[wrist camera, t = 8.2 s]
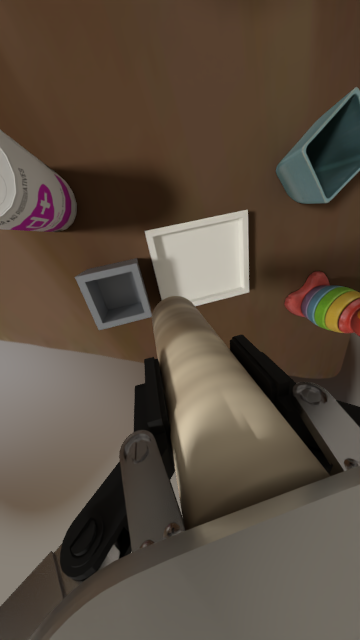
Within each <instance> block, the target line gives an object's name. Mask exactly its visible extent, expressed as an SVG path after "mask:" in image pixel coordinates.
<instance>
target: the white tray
mask: <svg viewBox="0 0 360 640" xmlns="http://www.w3.org/2000/svg"><path fill="white" fill-rule="evenodd" d="M145 235H146V239H147V243H148V247H149V252H150V256H151V260H152V264H153V268H154V272H155V276H156V280H157V284H158V288H159V292H160V296H161V300H163V299H165V298H168V297H171V296H181V297H184V298H186V299H188V300H189V301H191V302H192V303H193V305H194V306H198V305H202V304H205V303H209V302H213V301H217V300H221V299H225V298H229V297H233V296H236V295H240V294H244V293H248V292H249V249H248V210H244V211H239V212H234V213H230V214H225V215H220V216H215V217H210V218H206V219H201V220H196V221H191V222H186V223H182V224H177V225H172V226H167V227H162V228H158V229H153V230H148V231H145Z"/></svg>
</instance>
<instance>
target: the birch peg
mask: <svg viewBox="0 0 360 640" xmlns="http://www.w3.org/2000/svg"><path fill="white" fill-rule="evenodd" d="M152 324H153V330H154V336H155V343H156V349H157V356H158V361H159V364H160V368H161V374H162V381H163V387H164V393H165V399H166V405H167V411H168V417H169V423H170V429H171V431H170V439H171V445H172V452H173V458H174V464H175V471H176V477H177V483H178V490H179V496H180V503H181V509H182V516H183V522H184V527H185V529H186V530H189V529H192V528H194V527H197V526H199V525H202V524H205V523H207V522H210V521H213V520H215V519H218V518H221V517H223V516H226V515H228V514H231V513H234V512H236V511H239V510H242V509H244V508H247V507H250V506H252V505H255V504H258V503H260V502H263V501H266V500H268V499H271V498H274V497H276V496H279V495H282V494H284V493H287V492H290V491H292V490H295V489H298V488H300V487H303V486H306V485H308V484H311V483H314V482H317V481H319V480H322V479H325V478H327V477H330V475H329V474H328V472H327V471H326V470H325V469H324V467H323V466H322V465H321V464H320V462H319V461H318V460H317V459H316V457H315V456H314V455H313V454H312V452H311V451H310V450H309V449H308V447H307V446H306V445H305V444H304V442H303V441H302V440H301V439H300V437H299V436H298V435H297V434H296V432H295V431H294V430H293V429H292V427H291V426H290V425H289V424H288V422H287V421H286V420H285V419H284V417H283V416H282V415H281V414H280V412H279V411H278V410H277V409H276V407H275V406H274V405H273V404H272V402H271V401H270V400H269V399H268V397H267V396H266V395H265V394H264V392H263V391H262V390H261V388H260V387H259V386H258V385H257V383H256V382H255V381H254V380H253V378H252V377H251V376H250V375H249V373H248V372H247V371H246V370H245V368H244V367H243V366H242V365H241V363H240V362H239V361H238V360H237V358H236V357H235V356H234V355H233V353H232V352H231V351H230V350H229V348H228V347H227V346H226V345H225V343H224V342H223V341H222V340H221V338H220V337H219V336H218V335H217V333H216V332H215V331H214V330H213V328H212V327H211V326H210V325H209V323H208V322H207V321H206V320H205V318H204V317H203V316H202V315H201V313H200V312H199V311H198V310H197V308H196V307H195V306H194V305H193V303H192V302H191V301H189V300H188V299H186V298H184V297H181V296H171V297H168V298H165V299H163V300H162V301H161V302H159V303H158V304H157V306H156V307H155V309H154V311H153V314H152Z"/></svg>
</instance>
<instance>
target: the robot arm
mask: <svg viewBox="0 0 360 640" xmlns="http://www.w3.org/2000/svg"><path fill="white" fill-rule="evenodd" d="M230 351H231V352H232V353H233V355H234V356H235V357H236V358H237V360H238V361H239V362H240V363H241V365H242V366H243V367H244V368H245V370H246V371H247V372H248V373H249V375H250V376H251V377H252V378H253V380H254V381H255V382H256V383H257V385H258V386H259V387H260V388H261V390H262V391H263V392H264V394H265V395H266V396H267V397H268V399H269V400H270V401H271V402H272V404H273V405H274V406H275V407H276V409H277V410H278V411H279V412H280V414H281V415H282V416H283V417H284V419H285V420H286V421H287V422H288V424H289V425H290V426H291V427H292V429H293V430H294V431H295V432H296V434H297V435H298V436H299V437H300V439H301V440H302V441H303V442H304V444H305V445H306V446H307V447H308V449H309V450H310V451H311V452H312V454H313V455H314V456H315V457H316V459H317V460H318V461H319V462H320V464H321V465H322V466H323V467H324V469H325V470H326V471H327V472H328V474H329V475H330V477H327V478H325V479H322V480H319V481H317V482H314V483H311V484H308V485H306V486H303V487H300V488H298V489H295V490H292V491H290V492H287V493H284V494H282V495H279V496H276V497H274V498H271V499H268V500H266V501H263V502H260V503H258V504H255V505H252V506H250V507H247V508H244V509H242V510H239V511H236V512H234V513H231V514H228V515H226V516H223V517H221V518H218V519H215V520H213V521H210V522H207V523H205V524H202V525H199V526H197V527H194V528H192V529H189V530H186V529H185V527H184V522H183V517H182V515H181V512H180V508H179V506H178V503H177V500H176V497H175V494H174V491H173V488H172V485H171V482H170V479H171V477H172V475H173V473H174V472H175V468H174V466H175V464H174V458H173V452H172V445H171V439H170V431H171V429H170V423H169V417H168V411H167V405H166V399H165V393H164V387H163V381H162V374H161V368H160V364H159V361H158V359H154V357H152V358H148V359H145V360H144V363H145V383H144V384H140V385H137V386H135V406H134V432H133V433H132V434H130V435H129V436H128V437H127V438H126V440H125V441H124V442H123V444H122V446H121V449H120V455H119V458H120V462H119V463H118V464H117V465H116V467H115V468H114V469H113V471H112V472H111V473H110V475H109V476H108V477H107V479H106V480H105V481H104V482H103V484H102V485H101V486H100V488H99V489H98V490H97V491H96V493H95V494H94V495H93V497H92V498H91V499H90V500H89V502H88V503H87V504H86V506H85V507H84V508H83V509H82V511H81V512H80V513H79V515H78V516H77V517H76V518H75V520H74V521H73V523H72V524H71V526H70V528H69V529H68V531H67V533H66V535H65V538H64V540H63V543H62V544H61V545H60V546H59V548H58V549H57V550H56V551H55V552H54V553H53V552H52V551H51V552H50V553H49V554H48V555H47V556H46V557H45V559H44V560H43V561H42V562H41V563H40V564H39V565H38V566H37V567H36V568H35V569H34V570H33V571H32V573H31V574H30V575H29V576H28V577H27V578H26V579H25V580H24V581H23V582H22V584H21V585H20V586H19V587H18V588H17V589H16V590H15V591H14V592H13V593H12V594H11V596H9V598H8V599H7V600H6V601H5V602H4V603H3V604H2V605H1V606H0V640H360V407H358V406H355V405H351V404H348V403H344V402H341V401H337V400H335V399H334V398H333V397H332V396H331V395H330V393H329V392H328V391H327V390H325V389H324V388H323V387H321V386H319V385H317V384H314V383H310V382H299V383H297V384H296V383H295V382H294V381H293V380H292V379H291V378H290V377H289V376H288V375H287V374H286V373H285V372H284V371H283V370H281V369H280V368H279V367H278V366H277V365H276V364H275V363H274V362H273V361H272V360H271V359H270V358H269V357H268V356H267V355H265V354H264V353H263V352H260V351H259V350H258V349H257V348H256V347H255V346H254V345H253V344H252V343H251V342H250V341H249V340H248V339H247V338H245V337H244V336H243V335H238V336H234V337H233V338H232V340H230ZM131 552H132V553H131Z"/></svg>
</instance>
